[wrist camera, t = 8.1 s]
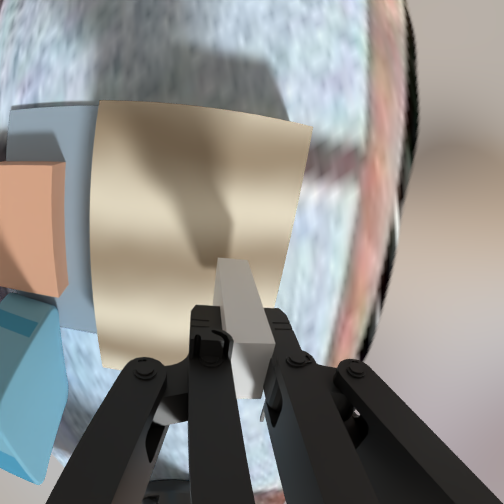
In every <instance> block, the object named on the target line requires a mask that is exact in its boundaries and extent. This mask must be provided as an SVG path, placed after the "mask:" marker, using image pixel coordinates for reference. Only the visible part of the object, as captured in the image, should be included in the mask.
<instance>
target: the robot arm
mask: <svg viewBox="0 0 504 504" xmlns="http://www.w3.org/2000/svg"><path fill="white" fill-rule="evenodd" d="M263 389H264V393H265V397H266V399H265V403H264V406H263V409H262V413H261V416H260V422H263V420H264V417H265V418H266V422H267V426H268V430H269V435H270V439H271V443H272V447H273V451H274V455H275V459H276V464H277V468H278V472H279V476H280V480H281V484H282V488H283V492H284V496H285V499H286V503H287V504H503V503H502V502H501V501H500V500H499V499H498V498H497V497H496V496H495V495H494V494H493V493H492V492H491V491H490V490H489V489H488V488H487V487H486V486H485V485H484V483H483V482H481V480H480V479H479V478H478V477H477V476H476V475H475V474H474V473H473V472H472V471H471V470H470V469H469V468H468V467H467V466H466V465H465V464H464V463H463V462H462V461H461V460H460V459H459V458H458V457H457V456H456V455H455V454H454V453H453V452H452V451H451V450H450V449H449V448H448V446H446V445H445V443H444V442H443V441H442V440H441V439H440V438H439V437H438V436H437V435H436V434H435V433H434V432H433V431H432V430H431V429H430V428H429V427H428V426H427V425H426V424H425V423H424V422H423V421H422V420H421V419H420V418H419V417H418V416H417V415H416V414H415V413H414V412H413V411H412V410H411V409H410V408H409V407H408V406H407V405H406V404H405V402H404V401H403V400H402V399H401V398H400V397H399V396H398V395H397V394H396V393H395V392H394V391H393V390H392V389H391V388H390V387H389V386H388V385H387V384H386V383H385V382H384V381H383V380H382V379H381V378H380V377H379V376H378V375H377V374H376V373H375V372H374V371H373V370H372V369H371V368H370V367H369V366H368V365H367V364H365V363H364V362H361V361H359V360H355V359H345V360H343V361H341V362H340V363H339V365H338V367H337V368H333V367H327V366H322V365H319V364H316V362H315V360H314V358H313V357H312V356H311V355H310V354H308V353H307V352H305V351H302V350H301V347H300V345H299V343H298V341H297V338H296V336H295V334H294V331H293V330H292V327H291V324H290V322H289V320H288V318H287V315H286V314H285V313H284V312H282V311H281V310H280V309H279V308H263V305H262V302H261V299H260V296H259V293H258V290H257V287H256V284H255V281H254V278H253V275H252V272H251V269H250V266H249V263H248V260H242V259H230V258H218V260H217V269H216V278H215V287H214V296H213V306H210V305H195V306H194V308H193V309H192V310H191V315H190V334H189V353H188V355H187V357H186V358H185V359H184V360H183V361H181V362H179V363H177V364H173V365H168V366H164V365H163V364H162V363H161V362H160V361H159V360H156V359H154V358H150V357H139V358H135V359H133V360H130V361H129V362H128V363H127V364H126V365H125V366H124V368H123V370H122V371H121V373H120V374H119V376H118V378H117V379H116V381H115V382H114V384H113V386H112V387H111V389H110V391H109V392H108V394H107V396H106V397H105V399H104V400H103V402H102V404H101V405H100V407H99V409H98V410H97V412H96V414H95V416H94V417H93V419H92V421H91V422H90V424H89V426H88V427H87V429H86V431H85V433H84V434H83V436H82V438H81V440H80V441H79V443H78V445H77V447H76V448H75V450H74V452H73V454H72V455H71V457H70V459H69V461H68V463H67V464H66V466H65V468H64V470H63V472H62V474H61V476H60V477H59V479H58V481H57V483H56V485H55V487H54V489H53V490H52V492H51V494H50V496H49V498H48V500H47V502H46V504H255V501H254V495H253V490H252V485H251V480H250V474H249V469H248V463H247V458H246V452H245V447H244V441H243V435H242V429H241V423H240V417H239V411H238V404H237V399H261V396H262V393H263ZM355 409H356V410H357V411H358V412H359V413H360V416H359V415H357V414H356V413H355V412H354V411H355ZM184 421H188V453H189V480H190V481H180V480H162V481H153V482H149V480H150V477H151V474H152V471H153V469H154V466H155V463H156V460H157V458H158V455H159V452H160V449H161V447H162V444H163V441H164V438H165V436H166V433H167V430H168V428H169V425H170V424H175V423H180V422H184Z"/></svg>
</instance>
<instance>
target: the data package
mask: <svg viewBox="0 0 504 504" xmlns="http://www.w3.org/2000/svg"><path fill="white" fill-rule="evenodd" d="M67 398H68V380H67V375H66V369H65V363H64V356H63V349H62V341H61V332H60V322H59V313H58V310H57V308H56V307H55V306H53V305H50V304H47V303H44V302H40V301H37V300H34V299H31V298H28V297H25V296H22V295H19V294H16V293H13V292H12V293H9V294H7V295H6V296H5V298H4V299H3V300H2V301H1V302H0V468H2V469H4V470H5V471H8V472H9V473H12V474H14V475H16V476H18V477H20V478H23V479H25V480H27V481H29V482H32V483H34V484H37V485H40V484H41V483H42V482H43V481H44V479H45V475H46V472H47V467H48V463H49V459H50V455H51V452H52V448H53V444H54V441H55V437H56V434H57V430H58V427H59V424H60V420H61V417H62V414H63V411H64V408H65V405H66V402H67Z"/></svg>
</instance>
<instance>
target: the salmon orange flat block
mask: <svg viewBox="0 0 504 504" xmlns="http://www.w3.org/2000/svg"><path fill="white" fill-rule="evenodd" d="M65 168H66V162H51V161H3V162H0V286H2V287H6V288H11V289H16V290H21V291H25V292H30V293H36V294H41V295H46V296H51V297H57V298H59V297H60V296H61V294H62V293H63V291H64V290H65V289H66V287H67V286H68V285H69V282H68V272H67V260H66V245H65V216H64V197H65Z"/></svg>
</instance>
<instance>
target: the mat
mask: <svg viewBox="0 0 504 504" xmlns="http://www.w3.org/2000/svg"><path fill="white" fill-rule="evenodd" d="M98 107H99V106H59V107H42V108H30V109H20V110H11V111H10V115H9V124H8V135H7V148H6V161H51V162H66V168H65V197H64V216H65V245H66V260H67V272H68V282H69V285H68V286H67V287H66V289H65V290H64V291H63V293H62V294H61V296H60V297H59V298H57V297H51V296H46V295H41V294H36V293H30V292H25V291H21V290H17V294H19V295H22V296H25V297H28V298H31V299H34V300H37V301H40V302H44V303H47V304H50V305H53V306H55V307H56V308H57V310H58V313H59V322H60V327H63V328H68V329H73V330H79V331H85V332H90V333H96V334H97V327H96V319H95V311H94V301H93V290H92V277H91V259H90V188H91V171H92V158H93V147H94V137H95V129H96V121H97V114H98Z"/></svg>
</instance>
